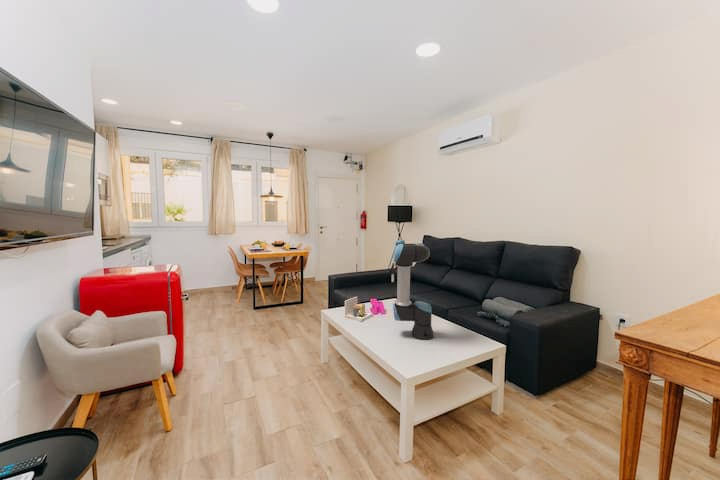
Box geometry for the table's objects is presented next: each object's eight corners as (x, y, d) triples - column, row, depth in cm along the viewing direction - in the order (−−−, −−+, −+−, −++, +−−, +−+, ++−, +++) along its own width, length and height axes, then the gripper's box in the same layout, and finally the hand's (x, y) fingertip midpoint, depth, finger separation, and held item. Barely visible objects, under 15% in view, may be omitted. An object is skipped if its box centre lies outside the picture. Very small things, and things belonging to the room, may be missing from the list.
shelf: (372, 316, 243) (372, 299, 241) (361, 321, 230) (361, 304, 229) (356, 312, 253) (356, 296, 252) (344, 317, 240) (344, 300, 239)
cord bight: (364, 314, 240) (364, 305, 239) (361, 315, 237) (361, 306, 236) (356, 312, 244) (356, 304, 244) (354, 313, 242) (354, 305, 241)
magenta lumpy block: (370, 310, 257) (370, 299, 256) (381, 309, 259) (381, 298, 258) (373, 315, 246) (373, 303, 245) (385, 314, 248) (385, 302, 247)
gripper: (415, 259, 240) (415, 284, 242) (389, 256, 255) (389, 280, 257) (411, 260, 234) (411, 285, 236) (385, 257, 249) (384, 281, 251)
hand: (399, 283), depth 246 cm, fingers open, 13 cm apart
